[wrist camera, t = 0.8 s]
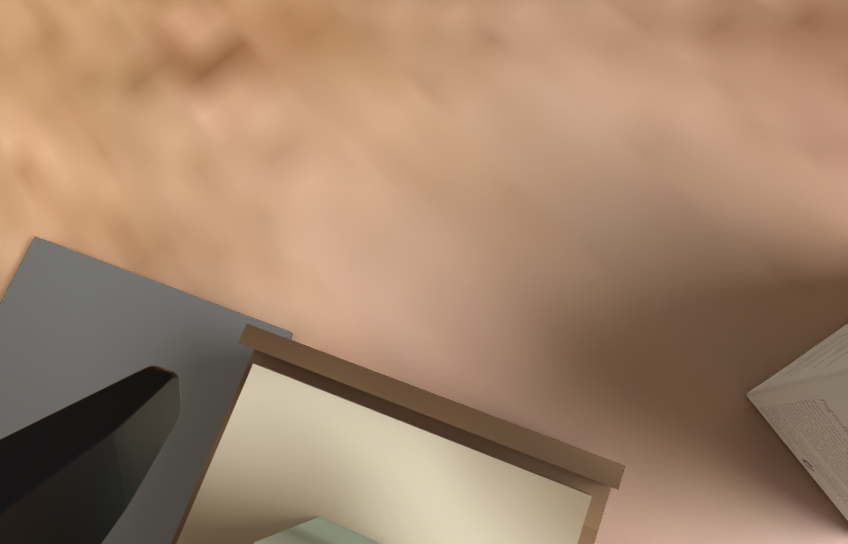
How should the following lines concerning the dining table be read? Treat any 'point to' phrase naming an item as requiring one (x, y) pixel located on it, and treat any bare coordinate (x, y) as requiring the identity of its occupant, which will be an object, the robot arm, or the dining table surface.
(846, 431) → the small box
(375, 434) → the cover plate
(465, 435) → the walnut box
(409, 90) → the dining table surface
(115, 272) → the rubber mat
